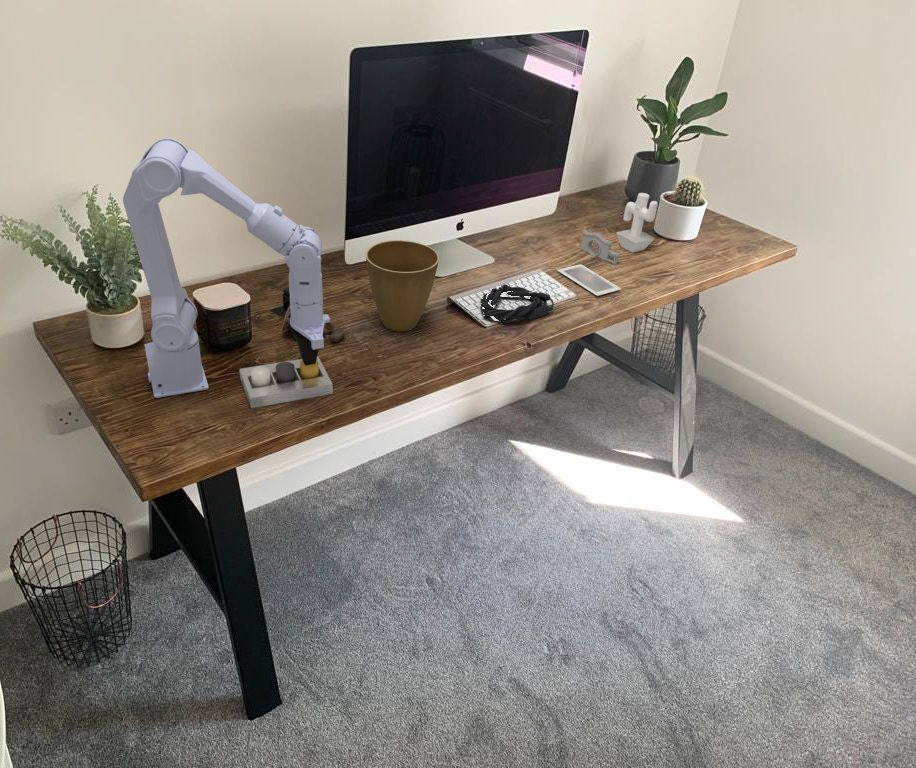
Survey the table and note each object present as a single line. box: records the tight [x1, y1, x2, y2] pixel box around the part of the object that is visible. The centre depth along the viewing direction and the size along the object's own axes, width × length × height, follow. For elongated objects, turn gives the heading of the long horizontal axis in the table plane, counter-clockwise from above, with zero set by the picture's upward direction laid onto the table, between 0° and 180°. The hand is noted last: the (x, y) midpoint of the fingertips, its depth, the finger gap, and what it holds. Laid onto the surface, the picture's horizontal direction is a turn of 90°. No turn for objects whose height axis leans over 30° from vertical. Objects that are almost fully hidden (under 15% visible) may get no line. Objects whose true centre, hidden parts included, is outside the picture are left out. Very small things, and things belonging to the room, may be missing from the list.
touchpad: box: [556, 263, 622, 297], centre depth 195 cm, size 8×15×2 cm, turn 33°
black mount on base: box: [268, 286, 290, 319], centre depth 175 cm, size 13×8×5 cm, turn 143°
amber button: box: [300, 360, 319, 380], centre depth 150 cm, size 3×3×3 cm
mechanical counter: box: [280, 305, 345, 343], centre depth 164 cm, size 7×13×10 cm
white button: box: [251, 365, 272, 389], centre depth 147 cm, size 3×3×3 cm
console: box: [239, 356, 334, 409], centre depth 150 cm, size 15×10×2 cm, turn 113°
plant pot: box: [365, 239, 440, 332], centre depth 168 cm, size 15×15×16 cm
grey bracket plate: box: [580, 229, 621, 266], centre depth 207 cm, size 12×2×6 cm, turn 42°
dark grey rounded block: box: [276, 361, 296, 384], centre depth 149 cm, size 3×3×3 cm
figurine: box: [615, 192, 659, 254], centre depth 210 cm, size 7×9×15 cm
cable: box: [479, 283, 555, 323], centre depth 180 cm, size 17×14×4 cm
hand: (309, 362), depth 149 cm, fingers closed
